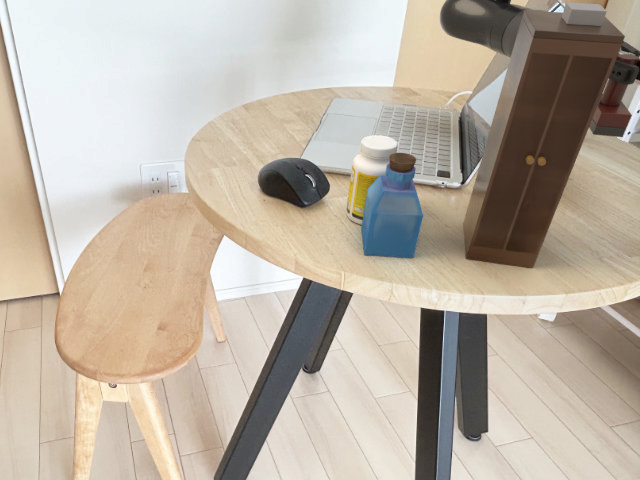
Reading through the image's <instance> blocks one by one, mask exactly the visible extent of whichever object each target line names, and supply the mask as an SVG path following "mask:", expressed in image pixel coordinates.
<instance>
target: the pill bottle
mask: <svg viewBox="0 0 640 480" xmlns="http://www.w3.org/2000/svg"><path fill="white" fill-rule="evenodd" d="M398 146H399V144H398V141H397V140H396V139H394V138H392V137H390V136H386V135H381V134H380V135H379V134H374V135H373V134H372V135H368V136H365V137H363V138H362V139H361V141H360V146H359V153H358V154H357V155H355V157H354V158H353V160H352V164H351V170H350V171H351V172H350V178H349V179H350V180H349V186H348V195H347V202H346V210H345V211H346V216H347V217H348V218H349V220H350V221H352V222H353V223H355V224H357V225H359V226H362V222H363V215H364V209H365V203H366V196H367V190H368V188H369V187H370V186H371V185H372V184H373V183H374V182H375V180H376V179H377V178H378V177H379V176H386V175H385V172H386V166H387V164H389V163H390V161H389V156H390V155H391V154H394V153H398V148H399V147H398Z"/></svg>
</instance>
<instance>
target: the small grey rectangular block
mask: <svg viewBox="0 0 640 480" xmlns="http://www.w3.org/2000/svg"><path fill="white" fill-rule="evenodd" d="M607 12H608V10H606V9H605V8H604V7H603V6H602V5H601V4H598V3H583V2H582V3H581V2H566V3H565V4H564V8H563V11H562V13H563V14H562V18H563V20H564V21H565V22H566V23H567V24H572V25H588V26H602V23H603V20H604V18H605V17H606V14H607Z"/></svg>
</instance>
